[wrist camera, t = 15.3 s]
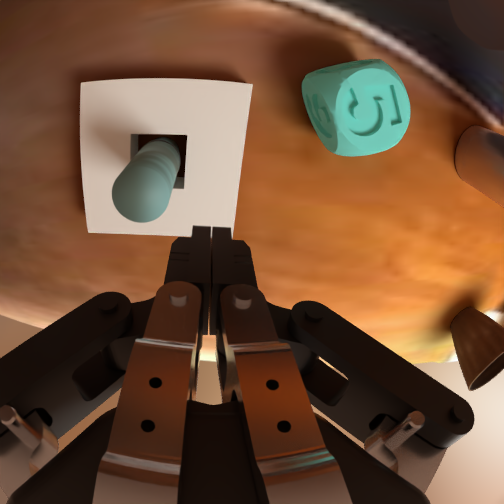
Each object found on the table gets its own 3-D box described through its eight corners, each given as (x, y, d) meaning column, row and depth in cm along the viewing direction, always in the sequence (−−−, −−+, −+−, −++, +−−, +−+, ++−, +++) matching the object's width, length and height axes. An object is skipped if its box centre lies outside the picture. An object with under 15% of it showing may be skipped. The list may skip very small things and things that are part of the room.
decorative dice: (377, 123, 30) (417, 140, 24) (317, 143, 31) (346, 165, 24) (359, 58, 26) (400, 59, 19) (293, 76, 27) (320, 77, 20)
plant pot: (466, 334, 61) (495, 379, 48) (427, 346, 59) (457, 399, 46) (492, 290, 53) (529, 336, 39) (454, 299, 51) (495, 354, 37)
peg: (184, 133, 29) (171, 166, 19) (182, 172, 31) (169, 224, 21) (144, 132, 28) (109, 165, 18) (143, 171, 30) (113, 222, 20)
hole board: (247, 83, 27) (252, 84, 24) (230, 223, 35) (232, 238, 32) (93, 81, 24) (80, 82, 21) (97, 218, 32) (88, 232, 29)
